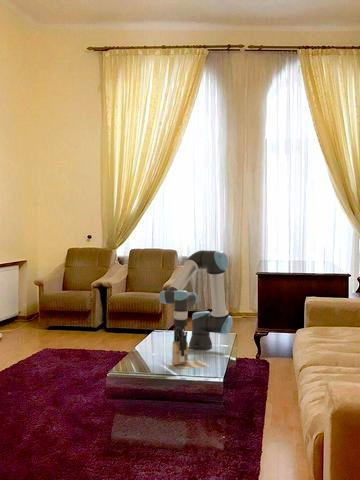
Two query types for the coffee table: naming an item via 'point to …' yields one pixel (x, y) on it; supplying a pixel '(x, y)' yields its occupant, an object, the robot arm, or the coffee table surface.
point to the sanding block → (176, 354)
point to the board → (189, 364)
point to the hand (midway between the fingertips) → (179, 360)
